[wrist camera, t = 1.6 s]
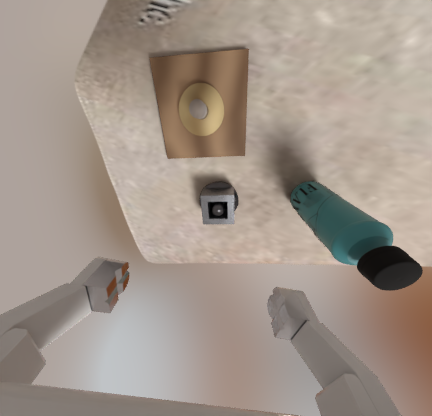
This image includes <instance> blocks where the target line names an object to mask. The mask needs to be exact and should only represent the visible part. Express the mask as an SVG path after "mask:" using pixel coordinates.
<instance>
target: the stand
mask: <svg viewBox="0 0 432 416" xmlns="http://www.w3.org/2000/svg"><path fill="white" fill-rule="evenodd" d="M224 187H232V186H231V185H229V184H228V183H225V182H213V183H210V184H208V185H207V186H206V187H205V188H224ZM201 193H202V192H201ZM200 205H201V198H200ZM210 205H211V209H213V210H212V212H213V214H214V215H216V216H220V215H222V214H223V209H228V201H227V202H210ZM237 206H238V195H237V192H236V190H235V189H234V211H235V210H236V208H237Z"/></svg>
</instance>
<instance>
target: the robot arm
mask: <svg viewBox="0 0 432 416" xmlns="http://www.w3.org/2000/svg"><path fill="white" fill-rule="evenodd" d="M128 268H129V263H128V262H124V261H119V260H113V259H108V258H103V257H97V258H95V259H94V260H93V261H92V262H91V263H90V264H89V265H88V266H87V267H86V268H85V269H84V270H83V271H82V272H81V273H80V274H79V275H78V276H77V277H76V278H75V279H74V280H73V281H72V282H71V283H70V284H69V283H66V284H64V285H62V286H60V287H58V288H55V289H53V290H51V291H49V292H47V293H45V294H43V295H41V296H39V297H37V298H35V299H33V300H30V301H28V302H26V303H24V304H22V305H20V306H18V307H16V308H14V309H12V310H9V311H7V312H6V313H3V314H1V315H0V416H299V415H290V414H282V413H273V412H264V411H256V410H248V409H239V408H230V407H222V406H213V405H205V404H196V403H187V402H178V401H169V400H162V399H153V398H145V397H135V396H127V395H119V394H110V393H101V392H93V391H84V390H75V389H66V388H58V387H50V386H42V385H32V382H33V381H34V379H35V378H36V377H37V375H38V374H39V372H40V371H41V370H42V369H43V367H44V366H45V362H46V360H45V358H44V357H43V355H42V354H41V352H40V351H41V350H42V349H44V348H45V347H46V346H48V345H49V344H50V343H52V342H53V341H54V340H55V339H57V338H58V337H60V336H61V335H62V334H64V333H65V332H66V331H68V330H69V329H70V328H71V327H73V326H74V325H75V324H77V323H78V322H79V321H81V320H82V319H83V318H85V317H86V316H87V315H89V314H90V313H91V312H92V311H96V312H104V313H111V311H112V310H113V308H114V306H115V304H116V303H117V301H118V295H119V294H120V293H122V292H123V291H124V290H125V288H126V286H127V284H128V281H129V272H128V271H127V269H128ZM267 307H268V312H269V315H270V316H271V317H272V319H273V320H272V323H271V324H272V328H273V332H274V335H275V337H276V338H280V339H286V340H291V342H292V344H293V346H294V347H295V348H296V350H297V351H298V353H299V354H300V356H301V357H302V359H303V360H304V362H305V363H306V364H307V366H308V367H309V369H310V370H311V372H312V373H313V374H314V376H315V378H316V379H317V381H318V382H319V383H320V385H321V386H322V388H323V390H322V391H320V392H319V393H317V394H316V397H315V399H316V402H317V405H318V408H319V411H320V414H321V416H402V415H401V414H400V412H399V411H398V409H397V408H396V406H395V404H394V403H393V401H392V400H391V398H390V396H389V395H388V393H387V392H386V390H385V388H384V387H383V385H382V384H381V382H380V381H379V379H378V377H377V376H376V375H375V374H374V373H373V372H372V371H371V370H370V369H369V368H368V367H367V366H366V365H364V363H363V362H362V361H361V360H359V358H358V357H356V356H355V355H354V354H353V353H352V352H351V351H350V350H349V349H348V348H347V347H346V346H345V345H344V344H343V343H342V342H341V341H340V340H339V339H338V338H337V337H336V336H335V335H334V334H333V333H332V332H331V331H330V330H329V329H328V328H327V327H326V326H325V325H324V324H323V323H320V322H319V320H318V318H317V317H316V314H315V313H314V311H313V309H312V307H311V305H310V303H309V301H308V299H307V297H306V295H305V294H304V292H303V291H297V290H292V289H286V288H280V287H276V288H274V289H273V295H271V296H270V297H269V299H268V304H267Z"/></svg>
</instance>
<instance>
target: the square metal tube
mask: <svg viewBox="0 0 432 416" xmlns="http://www.w3.org/2000/svg"><path fill="white" fill-rule="evenodd" d="M200 198H201V208H202V217H203V224H234V188H233V187H224V188H203V190H202V193H201V195H200ZM227 201H228V209H223V214H222V215H220V216H216V215H214V214H213V212H212V210H213V209H211V205H210V202H227Z"/></svg>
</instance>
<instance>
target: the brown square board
mask: <svg viewBox="0 0 432 416" xmlns="http://www.w3.org/2000/svg"><path fill="white" fill-rule="evenodd" d="M248 53H249V49H240V50H229V51H218V52H207V53H196V54H185V55H174V56H163V57H152V58H150V63H151V69H152V74H153V80H154V85H155V91H156V96H157V102H158V107H159V113H160V118H161V124H162V129H163V135H164V140H165V146H166V151H167V157H168V159H171V158H196V157H221V156H245V141H246V112H247V82H248Z"/></svg>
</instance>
